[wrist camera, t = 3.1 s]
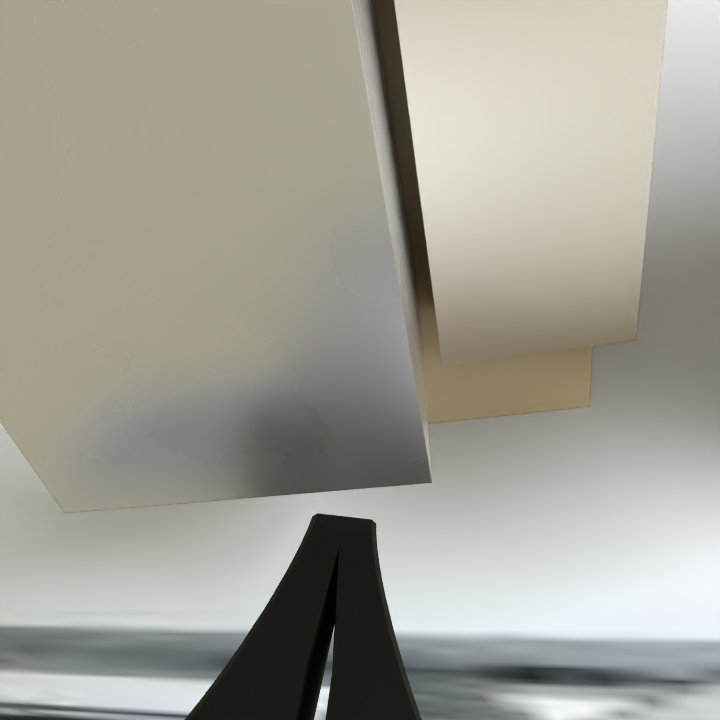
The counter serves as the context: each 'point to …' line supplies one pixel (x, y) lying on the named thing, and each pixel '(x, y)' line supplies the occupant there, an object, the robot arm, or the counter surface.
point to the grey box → (204, 253)
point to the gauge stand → (523, 188)
